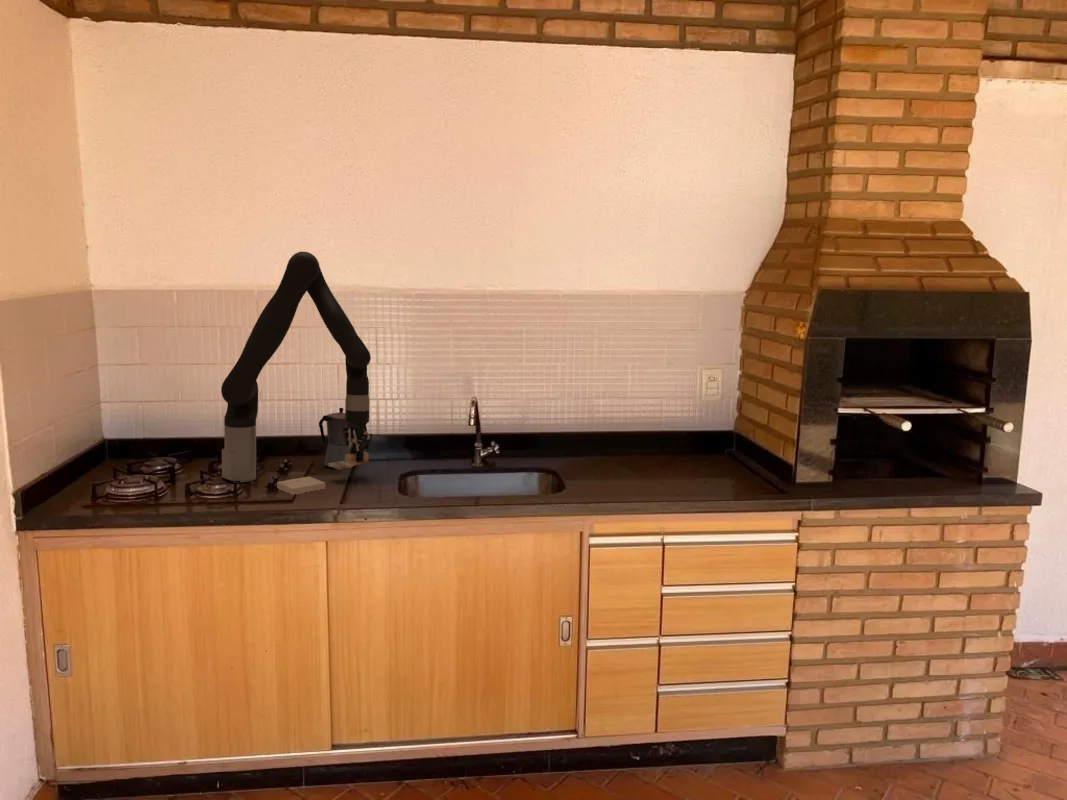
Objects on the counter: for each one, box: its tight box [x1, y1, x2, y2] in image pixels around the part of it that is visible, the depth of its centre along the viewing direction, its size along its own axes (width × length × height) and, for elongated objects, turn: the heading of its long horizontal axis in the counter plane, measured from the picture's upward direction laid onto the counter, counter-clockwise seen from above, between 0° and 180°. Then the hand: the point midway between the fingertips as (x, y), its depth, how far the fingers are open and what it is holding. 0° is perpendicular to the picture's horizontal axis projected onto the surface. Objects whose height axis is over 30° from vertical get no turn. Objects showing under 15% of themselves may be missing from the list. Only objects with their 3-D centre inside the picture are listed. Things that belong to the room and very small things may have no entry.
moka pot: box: [318, 407, 350, 468], centre depth 273 cm, size 10×15×20 cm, turn 148°
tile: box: [276, 476, 326, 496], centre depth 245 cm, size 2×9×11 cm
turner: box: [328, 451, 369, 470], centre depth 257 cm, size 12×6×3 cm, turn 136°
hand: (356, 460), depth 259 cm, fingers closed on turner, 2 cm apart
